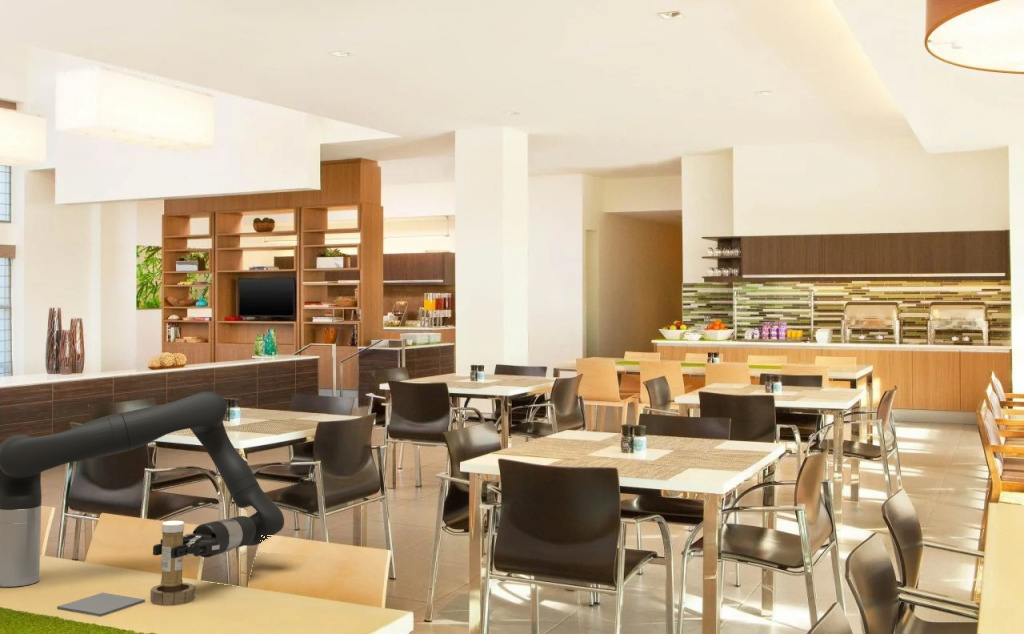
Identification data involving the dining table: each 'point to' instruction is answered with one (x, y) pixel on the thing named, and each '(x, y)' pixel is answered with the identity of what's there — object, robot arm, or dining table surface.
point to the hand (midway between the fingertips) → (163, 552)
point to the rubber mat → (101, 604)
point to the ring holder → (172, 594)
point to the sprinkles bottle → (170, 565)
